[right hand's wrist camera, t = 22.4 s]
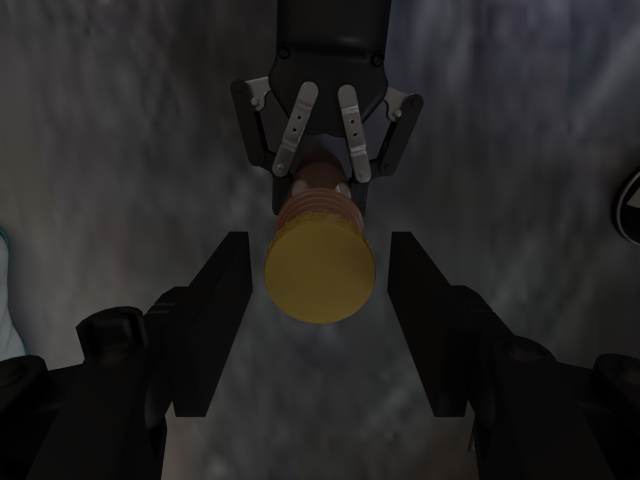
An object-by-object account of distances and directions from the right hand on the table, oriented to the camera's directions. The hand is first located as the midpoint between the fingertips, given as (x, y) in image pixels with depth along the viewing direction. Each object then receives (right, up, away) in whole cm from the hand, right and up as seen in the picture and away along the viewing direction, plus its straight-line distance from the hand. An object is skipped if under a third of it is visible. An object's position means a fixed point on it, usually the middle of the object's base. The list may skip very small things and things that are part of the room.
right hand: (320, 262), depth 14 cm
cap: (0, 0, -1) cm, 1 cm away
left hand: (0, +2, +14) cm, 14 cm away
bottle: (0, +7, +19) cm, 21 cm away
